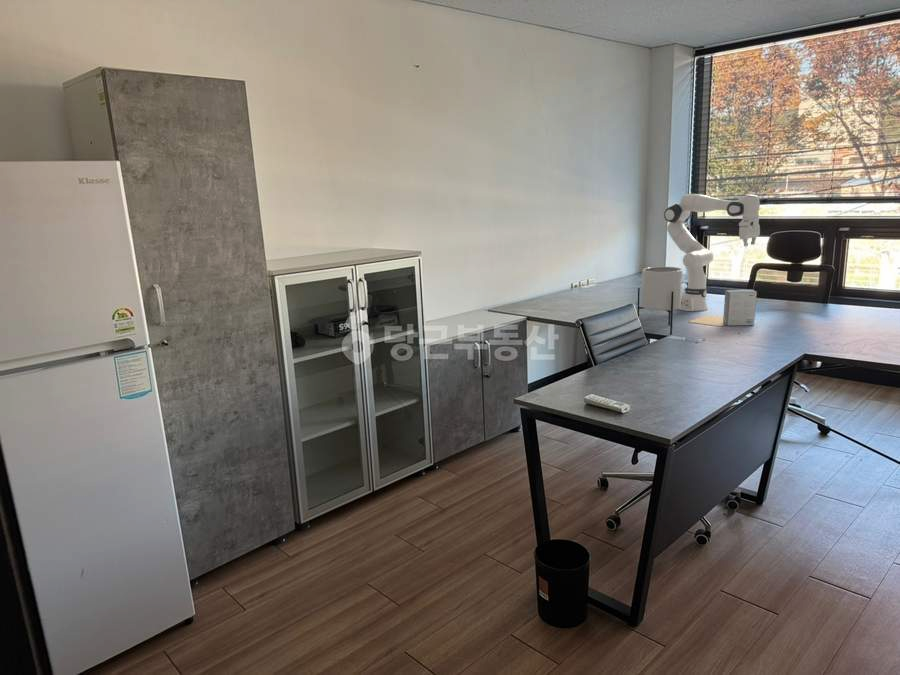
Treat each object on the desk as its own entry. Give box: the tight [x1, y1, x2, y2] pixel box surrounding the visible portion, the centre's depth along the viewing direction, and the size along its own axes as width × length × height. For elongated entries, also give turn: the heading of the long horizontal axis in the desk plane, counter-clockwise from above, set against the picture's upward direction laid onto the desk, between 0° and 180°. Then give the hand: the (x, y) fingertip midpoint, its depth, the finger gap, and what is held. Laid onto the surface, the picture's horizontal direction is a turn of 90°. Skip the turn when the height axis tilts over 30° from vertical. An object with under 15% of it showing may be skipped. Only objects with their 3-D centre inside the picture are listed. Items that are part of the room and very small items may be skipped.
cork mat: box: [688, 314, 727, 328], centre depth 371 cm, size 20×22×1 cm
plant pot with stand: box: [637, 266, 683, 335], centre depth 355 cm, size 24×24×36 cm
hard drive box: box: [723, 289, 758, 327], centre depth 357 cm, size 16×8×20 cm, turn 84°
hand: (749, 245), depth 369 cm, fingers open, 8 cm apart
